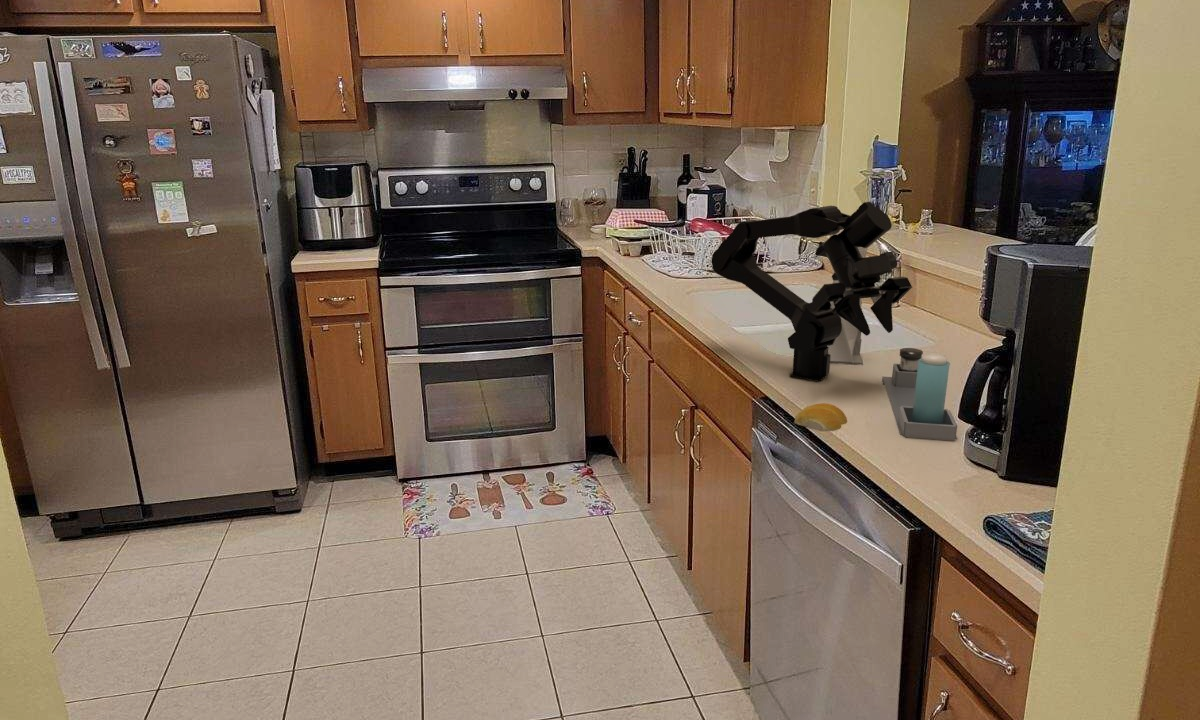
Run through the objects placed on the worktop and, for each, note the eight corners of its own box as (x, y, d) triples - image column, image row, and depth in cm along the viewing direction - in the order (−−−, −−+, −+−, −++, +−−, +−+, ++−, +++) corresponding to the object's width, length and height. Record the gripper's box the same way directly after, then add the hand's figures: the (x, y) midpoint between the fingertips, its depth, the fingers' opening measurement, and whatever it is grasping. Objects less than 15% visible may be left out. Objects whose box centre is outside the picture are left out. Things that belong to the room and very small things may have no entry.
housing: (958, 446, 136) (961, 424, 135) (900, 442, 138) (902, 420, 137) (929, 384, 166) (931, 364, 164) (881, 381, 167) (883, 362, 166)
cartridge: (908, 431, 140) (916, 357, 136) (913, 422, 143) (922, 350, 140) (938, 437, 137) (947, 362, 133) (943, 427, 141) (952, 354, 137)
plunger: (894, 381, 162) (897, 352, 161) (899, 375, 166) (902, 346, 164) (917, 385, 160) (920, 355, 159) (921, 378, 164) (924, 349, 162)
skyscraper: (863, 366, 176) (875, 235, 168) (824, 364, 178) (834, 234, 170) (859, 355, 184) (871, 228, 176) (822, 353, 186) (831, 227, 178)
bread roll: (851, 424, 146) (853, 402, 145) (833, 440, 139) (835, 418, 138) (807, 414, 151) (808, 393, 150) (786, 429, 144) (788, 408, 143)
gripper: (825, 240, 148) (859, 314, 142) (910, 233, 154) (946, 304, 148) (798, 275, 158) (828, 346, 151) (879, 268, 164) (911, 336, 157)
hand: (879, 332), depth 152 cm, fingers open, 5 cm apart
